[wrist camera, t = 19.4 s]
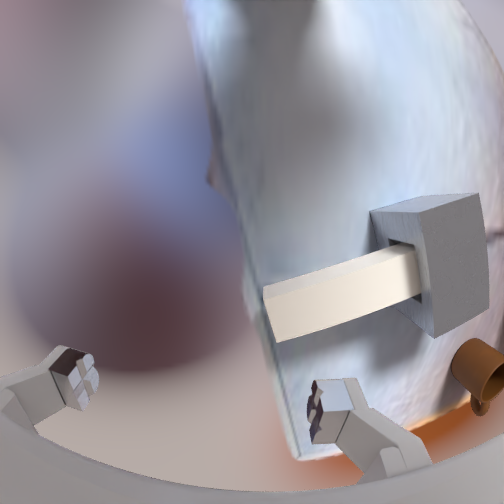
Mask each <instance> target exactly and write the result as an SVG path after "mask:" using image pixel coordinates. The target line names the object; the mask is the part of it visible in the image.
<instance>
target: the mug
mask: <svg viewBox="0 0 504 504" xmlns="http://www.w3.org/2000/svg"><path fill="white" fill-rule="evenodd" d="M451 368H452V373H453V375H454V377H455V378H456V379H457V380H458V381H459V382H460V383H461V384H462V385H463V386H464V387H465V388H466V389H467V390H468V391H469V392H470V393H471V400H470V401H471V407H472V410H473V411H474V413H475V414H476V415H477V416H483V415H485V414H486V412H487V411H488V409H489V406H490V401H492V400H493V399H494V398H496V397H497V395H499V393H500V392H501V391H502V390H503V388H504V355H503V354H501V353H500V352H498V351H497V350H495V349H494V348H493V347H491V346H489V345H488V344H486V343H485V342H483V341H482V340H480V339H477V338H473V339H470V340H468V341H467V342H465V343H464V344H463V345H462V346H461V347H460V348H459V350H458V351H457V353H456V354H455V356H454V359H453V361H452V367H451ZM479 401H480V402H481V405H480V403H479Z"/></svg>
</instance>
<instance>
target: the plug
mask: <svg viewBox="0 0 504 504" xmlns="http://www.w3.org/2000/svg"><path fill="white" fill-rule="evenodd" d="M420 293H421V286H420V279H419V271H418V265H417V258H416V252H415V247H414V245H413V244H409V243H405V242H402V243H399V244H396V245H393V246H390V247H387V248H384V249H382V250H379V251H376V252H373V253H370V254H367V255H364V256H361V257H358V258H355V259H351V260H348V261H345V262H342V263H339V264H336V265H333V266H330V267H327V268H323V269H320V270H317V271H314V272H311V273H307V274H304V275H301V276H297V277H294V278H291V279H288V280H284V281H281V282H277V283H274V284H271V285H267V286H264V287H263V301H264V304H265V307H266V310H267V314H268V317H269V320H270V323H271V326H272V329H273V333H274V336H275V339H276V342H277V343H278V342H282V341H286V340H289V339H293V338H296V337H300V336H303V335H306V334H310V333H313V332H316V331H319V330H323V329H326V328H329V327H332V326H335V325H338V324H341V323H344V322H347V321H350V320H353V319H355V318H358V317H361V316H364V315H367V314H369V313H372V312H375V311H378V310H380V309H383V308H385V307H388V306H391V305H393V304H396V303H398V302H401V301H403V300H406V299H408V298H410V297H413V296H415V295H418V294H420Z"/></svg>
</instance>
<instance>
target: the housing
mask: <svg viewBox="0 0 504 504" xmlns="http://www.w3.org/2000/svg"><path fill="white" fill-rule="evenodd" d="M370 215H371V219H372V223H373V227H374V231H375V235H376V239H377V244H378V248H379V250H382V249H384V248H387V247H390V246H393V245H396V244H399V243H402V242H405V243H409V244H413V245H414V247H415V252H416V258H417V265H418V271H419V279H420V286H421V293H420V294H418V295H415V296H413V297H410V298H408V299H406V300H403V301H401V302H398V303H396V304H393V305H392V306H393V307H395V308H396V309H397V310H399V311H400V312H401V313H402V314H404V315H405V316H406V317H408V318H409V319H410V320H411V321H413V322H414V323H415V324H416V325H418V326H419V327H420V328H421V329H423V330H424V331H425V332H426V333H428V334H429V335H430V336H431V337H432V338H434V339H435V338H437V337H439V336H441V335H443V334H445V333H446V332H448V331H450V330H452V329H454V328H456V327H458V326H460V325H461V324H463V323H465V322H467V321H468V320H470V319H472V318H474V317H475V316H477V315H479V314H480V313H482V312H484V311H485V310H487V309H489V269H488V254H487V244H486V235H485V227H484V220H483V214H482V208H481V203H480V197H479V193H466V194H447V195H430V196H420V197H416V198H413V199H410V200H406V201H403V202H399V203H396V204H393V205H389V206H386V207H382V208H379V209H376V210H372V211H370Z"/></svg>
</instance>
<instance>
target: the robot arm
mask: <svg viewBox="0 0 504 504" xmlns="http://www.w3.org/2000/svg"><path fill="white" fill-rule="evenodd" d="M93 364H94V360H93V357H92V355H90V354H89V353H85V352H82V351H79V350H75V349H72V348H68V347H65V346H62V345H60V346H57V347H56V348H55V349H54V350H53V351H52V352H51V353H50V355H48V357H46V359H45V360H43V361H42V363H41V364H40V365H39V366H37V365H34V366H31V367H29V368H26V369H23V370H20V371H17V372H14V373H11V374H8V375H5V376H2V377H0V504H504V433H502V434H500V435H498V436H496V437H494V438H492V439H491V440H489V441H487V442H485V443H483V444H481V445H479V446H477V447H475V448H472V449H470V450H468V451H466V452H464V453H461V454H459V455H457V456H454V457H452V458H449V459H447V460H444V461H442V462H439V463H436V464H433V463H432V462H431V459H430V457H429V455H428V453H427V451H426V448H425V446H424V444H423V442H422V440H421V439H420V438H418V437H417V436H415V435H414V434H412V433H411V432H409V431H407V430H406V429H404V428H403V427H401V426H400V425H398V424H396V423H395V422H393V421H392V420H390V419H389V418H387V417H386V416H384V415H383V414H381V413H380V412H378V411H377V410H375V409H374V408H369V406H368V404H367V402H366V399H365V397H364V394H363V392H362V390H361V387H360V385H359V383H358V380H357V379H356V378H343V379H327V380H314V381H313V383H312V387H311V389H312V395H310V396H309V399H308V403H307V418H308V421H309V422H310V423H311V427H310V430H309V431H310V437H311V442H312V444H328V443H336V445H337V446H338V447H339V448H340V449H341V450H342V451H343V453H344V454H345V455H346V456H347V457H348V458H350V460H351V461H352V462H353V463H354V464H355V465H356V466H357V467H358V468H360V469H361V470H362V471H363V472H364V475H363V476H362V477H361V479H360V480H359V481H358V482H357V484H356V485H351V486H344V487H337V488H330V489H320V490H308V491H292V492H252V491H233V490H222V489H213V488H205V487H198V486H191V485H184V484H180V483H174V482H169V481H164V480H160V479H156V478H152V477H147V476H144V475H140V474H136V473H133V472H129V471H126V470H123V469H119V468H116V467H113V466H110V465H107V464H104V463H102V462H99V461H96V460H93V459H91V458H88V457H86V456H83V455H81V454H78V453H76V452H74V451H71V450H69V449H67V448H65V447H63V446H60V445H58V444H56V443H54V442H52V441H50V440H48V439H46V438H44V437H42V436H40V435H39V433H38V432H37V431H36V429H35V427H34V425H35V424H37V423H39V422H41V421H42V420H44V419H46V418H47V417H49V416H51V415H53V414H54V413H56V412H58V411H59V410H61V409H62V408H64V407H66V406H68V407H71V408H74V409H77V410H80V411H83V410H84V409H85V407H86V406H87V404H88V403H89V401H90V399H89V396H90V395H92V394H94V393H95V392H96V390H97V388H98V384H99V376H98V372H97V370H96V369H95V368H94V367H93Z"/></svg>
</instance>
